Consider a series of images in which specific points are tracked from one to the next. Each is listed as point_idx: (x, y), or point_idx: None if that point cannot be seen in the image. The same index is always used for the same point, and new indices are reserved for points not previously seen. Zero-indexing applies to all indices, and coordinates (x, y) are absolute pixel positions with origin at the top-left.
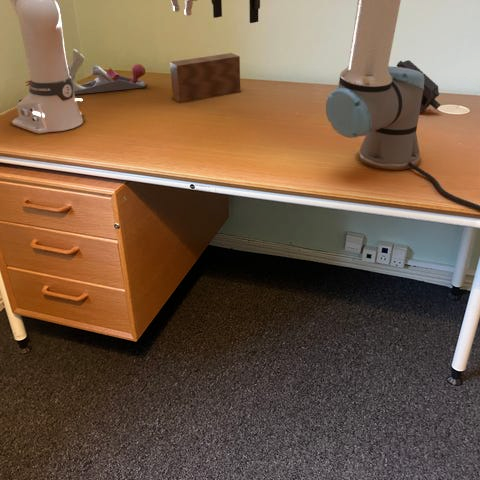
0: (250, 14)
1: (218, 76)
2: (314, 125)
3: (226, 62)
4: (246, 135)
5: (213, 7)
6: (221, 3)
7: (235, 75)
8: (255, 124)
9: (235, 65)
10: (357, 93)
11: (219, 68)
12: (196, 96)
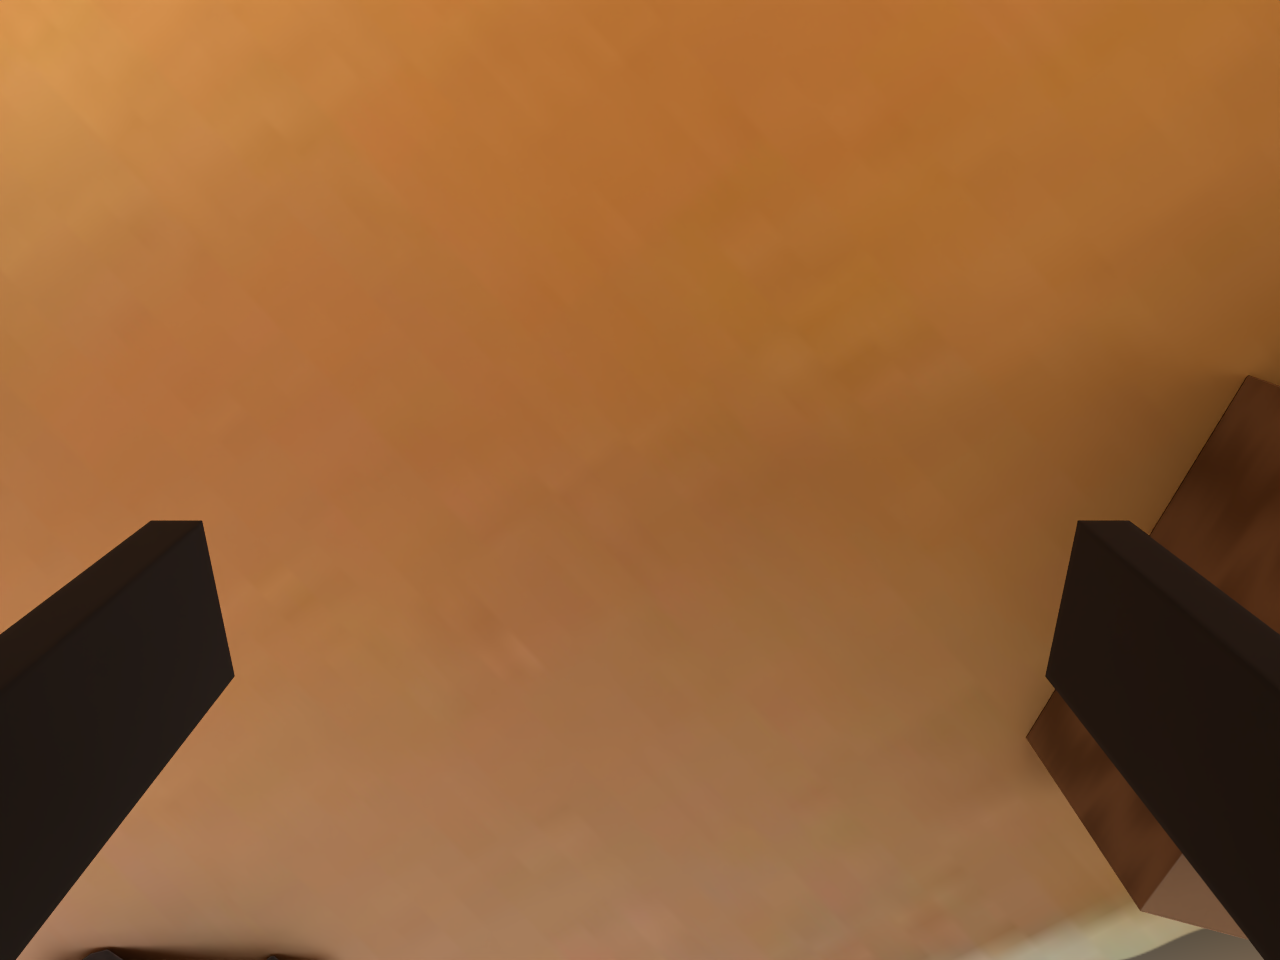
0: (91, 590)
1: None
2: (325, 570)
3: None
4: (486, 203)
5: (1235, 612)
6: (1173, 836)
7: (1091, 786)
8: (578, 382)
9: (1126, 836)
10: None
11: None
12: (1193, 492)
